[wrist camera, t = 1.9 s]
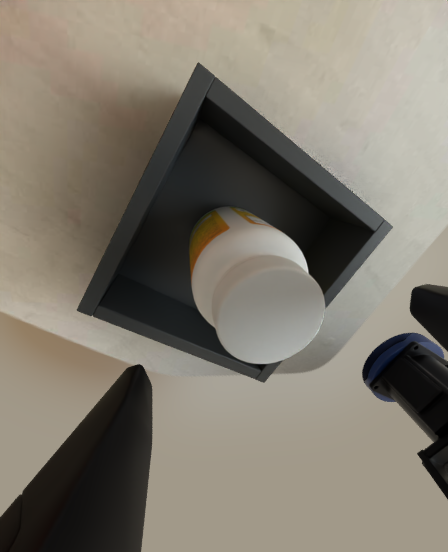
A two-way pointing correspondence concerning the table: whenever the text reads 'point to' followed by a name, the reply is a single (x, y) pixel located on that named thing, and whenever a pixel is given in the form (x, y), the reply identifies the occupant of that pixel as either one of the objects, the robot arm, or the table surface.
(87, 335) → the table surface
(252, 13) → the table surface
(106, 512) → the robot arm
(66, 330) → the table surface
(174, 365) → the table surface
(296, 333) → the supplement bottle
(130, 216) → the bin
